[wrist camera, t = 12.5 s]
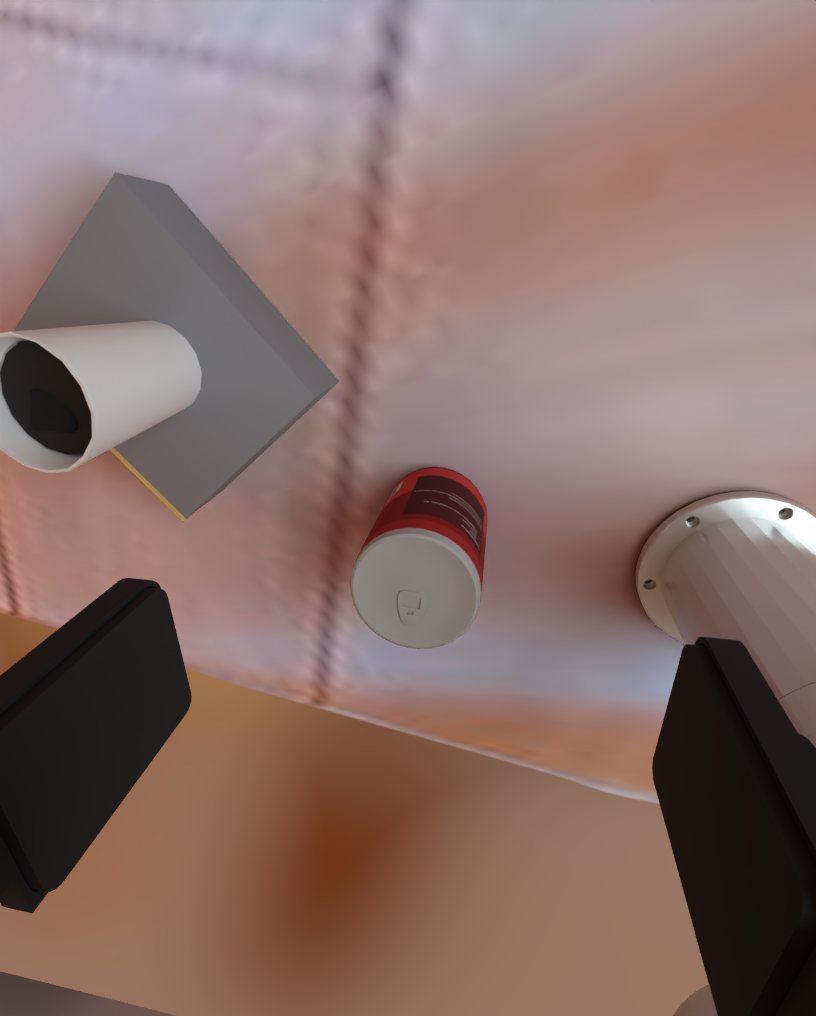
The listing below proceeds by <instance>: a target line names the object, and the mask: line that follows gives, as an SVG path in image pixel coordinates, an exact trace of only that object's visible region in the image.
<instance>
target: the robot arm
mask: <svg viewBox="0 0 816 1016" xmlns="http://www.w3.org/2000/svg"><path fill="white" fill-rule="evenodd" d="M781 509H782V510H781ZM689 517H692V518H690V519H688V518H689ZM635 578H636V589H637V592H638V595H639V598H640V601H641V603H642V605H643V607H644V609H645V612H646V614H647V615H648V616H649V617H650V619H651V620H652V621H653V622H654V624H655V625H656V626H657V627H659V628H660V629H661V630H662V631H664V632H665V633H666V634H667V635H669V636H671V637H673V638H675V639H677V640H679V641H680V642H683V643H684V644H685V646H684V648H683V650H682V654H681V657H680V661H679V665H678V668H677V672H676V676H675V680H674V683H673V687H672V691H671V694H670V698H669V702H668V706H667V709H666V713H665V717H664V720H663V724H662V728H661V731H660V735H659V739H658V743H657V746H656V750H655V754H654V757H653V766H652V769H653V780H654V784H655V788H656V792H657V795H658V799H659V803H660V806H661V810H662V813H663V817H664V821H665V824H666V828H667V832H668V836H669V839H670V843H671V846H672V850H673V854H674V858H675V861H676V865H677V869H678V872H679V876H680V880H681V883H682V887H683V890H684V894H685V898H686V901H687V905H688V908H689V912H690V916H691V919H692V924H693V927H694V930H695V934H696V938H697V942H698V945H699V949H700V953H701V956H702V960H703V964H704V967H705V971H706V975H707V978H708V982H709V985H707V986H704V987H702V988H700V989H699V990H697V991H696V992H694V993H693V994H692V995H690V996H689V997H688V998H687V999H686V1000H685V1001H684V1002H683V1003H682V1004H681V1005H680V1006H679V1008H678V1009H677V1011H676V1012H675V1014H674V1015H673V1016H816V516H815V515H814V514H813V513H812V512H811V511H809V510H808V509H807V508H805V507H803V506H802V505H800V504H798V503H796V502H795V501H793V500H791V499H788V498H785V497H782V496H779V495H776V494H771V493H764V492H757V491H736V492H729V493H723V494H718V495H713V496H710V497H707V498H704V499H701V500H698V501H695V502H693V503H692V504H690V505H688V506H686V507H684V508H682V509H680V510H678V511H677V512H675V513H674V514H673V515H671V516H670V517H669V518H667V519H666V520H665V521H663V522H662V523H661V525H660V526H659V527H658V528H657V529H656V530H655V531H654V532H653V533H652V534H651V536H650V537H649V539H648V540H647V542H646V543H645V545H644V546H643V548H642V551H641V553H640V556H639V558H638V561H637V567H636V574H635ZM190 703H191V691H190V687H189V682H188V678H187V674H186V670H185V666H184V662H183V658H182V654H181V650H180V645H179V641H178V637H177V633H176V629H175V625H174V621H173V617H172V613H171V608H170V604H169V600H168V596H167V594H166V592H165V591H164V590H162V589H161V588H160V585H159V584H158V583H157V582H155V581H152V580H142V579H132V578H125V579H122V580H120V581H118V582H117V583H116V584H114V585H113V586H112V587H111V588H109V589H108V590H107V591H106V592H104V593H103V594H102V595H101V596H99V597H98V598H97V599H96V600H94V601H93V602H92V603H91V604H89V605H88V606H87V607H86V608H84V609H83V610H82V611H81V612H79V613H78V614H77V615H76V616H74V617H73V618H72V619H71V620H69V621H68V622H67V623H66V624H64V625H63V626H62V627H61V628H59V629H58V630H57V631H56V632H55V633H53V634H52V635H51V636H49V637H48V638H47V639H46V640H44V641H43V642H42V643H41V644H39V645H38V646H37V647H36V648H35V649H33V650H32V651H31V652H29V653H28V654H27V655H26V656H24V657H23V658H22V659H21V660H19V661H18V662H17V663H16V664H14V665H13V666H12V667H11V668H9V669H8V670H7V671H6V672H4V673H3V674H2V675H1V676H0V903H1V905H2V906H3V907H7V908H11V909H16V910H21V911H25V912H29V913H33V912H34V911H35V909H36V908H37V907H38V905H39V904H40V902H41V901H42V900H43V899H44V897H45V896H46V894H47V893H48V892H50V891H53V890H55V889H56V888H57V887H58V886H60V885H61V884H62V882H63V881H64V880H65V879H66V877H67V876H68V874H69V873H70V872H71V871H72V869H73V868H74V867H75V865H76V864H77V862H78V861H79V860H80V858H81V857H82V856H83V854H84V853H85V851H86V850H87V849H88V847H89V846H90V845H91V843H92V842H93V841H94V839H95V838H96V836H97V835H98V834H99V832H100V831H101V829H102V828H103V827H104V825H105V824H106V823H107V821H108V820H109V819H110V817H111V816H112V814H113V813H114V812H115V810H116V809H117V808H118V806H119V805H120V804H121V802H122V801H123V799H124V798H125V797H126V795H127V794H128V793H129V791H130V790H131V789H132V787H133V786H134V784H135V783H136V782H137V780H138V779H139V778H140V776H141V775H142V773H143V772H144V771H145V769H146V768H147V767H148V765H149V764H150V763H151V761H152V760H153V758H154V757H155V756H156V754H157V753H158V752H159V750H160V749H161V747H162V746H163V745H164V743H165V742H166V741H167V739H168V738H169V737H170V735H171V734H172V732H173V731H174V730H175V728H176V727H177V726H178V724H179V723H180V721H181V720H182V719H183V717H184V716H185V714H186V713H187V711H188V709H189V707H190ZM0 1016H176V1015H171V1014H168V1013H164V1012H159V1011H156V1010H152V1009H148V1008H144V1007H140V1006H136V1005H132V1004H128V1003H124V1002H121V1001H117V1000H112V999H109V998H105V997H101V996H96V995H93V994H88V993H84V992H81V991H76V990H73V989H68V988H64V987H60V986H56V985H52V984H48V983H44V982H40V981H36V980H32V979H28V978H24V977H20V976H16V975H12V974H8V973H4V972H0Z"/></svg>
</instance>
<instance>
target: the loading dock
mask: <svg viewBox="0 0 816 1016" xmlns="http://www.w3.org/2000/svg"><path fill="white" fill-rule="evenodd" d="M151 320H153V321H156V322H160V323H163V324H166V325H169V326H171V327H172V328H173V329H175V330H176V331H177V332H179V333H180V334H181V335H182V336H184V337H185V338H186V340H187V341H188V343H189V344H190V346H191V347H192V348H193V350H194V351H195V353H196V355H197V358H198V362H199V365H200V368H201V372H202V375H201V389H200V391H199V393H198V395H197V397H196V399H195V401H194V403H193V404H191V405H190V406H188V407H187V408H185V409H184V410H182V411H180V412H178V413H177V414H175V415H173V416H171V417H169V418H167V419H165V420H164V421H162V422H160V423H158V424H156V425H154V426H153V427H151V428H149V429H147V430H145V431H143V432H141V433H140V434H138V435H136V436H134V437H132V438H130V439H128V440H127V441H125V442H123V443H121V444H119V445H117V446H116V447H114V448H112V449H110V451H111V452H112V453H113V454H114V455H115V456H116V457H117V458H118V459H119V460H120V461H121V462H122V463H123V464H124V465H125V466H126V467H127V468H128V469H129V470H130V471H131V472H133V473H134V474H135V475H136V476H137V477H138V478H139V479H140V480H141V481H142V482H143V483H144V484H145V485H146V486H147V487H148V488H149V489H150V490H151V491H152V492H153V493H154V494H155V495H156V496H157V497H158V498H159V499H160V500H161V501H162V502H163V503H164V504H165V505H166V506H167V507H168V508H169V509H171V510H172V511H173V512H174V513H175V514H176V515H177V516H178V517H179V518H180V519H181V520H182V521H183V522H184V521H185V520H186V519H188V518H189V517H190V516H191V515H193V514H194V513H195V512H196V511H197V510H198V509H199V508H201V507H202V506H203V505H204V504H206V503H207V502H208V501H210V500H211V499H212V498H213V497H215V496H216V495H217V494H218V493H220V492H221V491H222V490H223V489H224V488H225V487H226V486H227V485H228V484H230V483H231V482H232V481H233V480H234V479H235V478H236V477H237V476H238V475H239V474H240V473H241V472H242V471H243V470H245V469H246V468H247V467H248V466H249V465H250V464H251V463H252V462H253V461H254V460H255V459H256V458H257V457H258V456H260V455H261V454H262V453H263V452H264V451H265V450H266V449H267V448H268V447H269V446H270V445H271V444H272V443H273V442H275V441H276V440H277V439H278V438H279V437H280V436H281V435H282V434H283V433H284V432H285V431H286V430H287V429H289V428H290V427H291V426H292V425H293V424H294V423H295V422H296V421H297V420H298V419H299V418H300V417H301V416H302V415H304V414H305V413H306V412H307V411H308V410H309V409H310V408H311V407H312V406H313V405H314V404H315V403H316V402H317V401H319V400H320V399H321V398H322V397H323V396H324V395H325V394H326V393H327V392H328V391H329V390H330V389H331V388H332V387H334V386H335V385H336V384H337V383H338V382H339V380H338V379H337V378H336V377H335V376H334V375H333V374H332V372H331V371H330V370H329V369H328V368H327V367H326V365H325V364H324V363H323V362H322V361H321V360H320V359H319V357H318V356H317V355H316V354H315V353H314V352H313V351H312V349H311V348H310V347H309V346H308V345H307V344H306V342H305V341H304V340H303V339H302V338H301V337H300V336H299V334H298V333H297V332H296V331H295V330H294V329H293V327H292V326H291V325H290V324H289V323H288V322H287V321H286V319H285V318H284V317H283V316H282V315H281V314H280V313H279V311H278V310H277V309H276V308H275V307H274V306H273V304H272V303H271V302H270V301H269V300H268V299H267V298H266V296H265V295H264V294H263V293H262V292H261V291H260V290H259V288H258V287H257V286H256V285H255V284H254V283H253V281H252V280H251V279H250V278H249V277H248V276H247V275H246V273H245V272H244V271H243V270H242V269H241V268H240V266H239V265H238V264H237V263H236V262H235V261H234V260H233V258H232V257H231V256H230V255H229V254H228V253H227V252H226V250H225V249H224V248H223V247H222V246H221V245H220V243H219V242H218V241H217V240H216V239H215V238H214V237H213V235H212V234H211V233H210V232H209V231H208V230H207V229H206V227H205V226H204V225H203V224H202V223H201V222H200V220H199V219H198V218H197V217H196V216H195V215H194V214H193V212H192V211H191V210H190V209H189V208H188V207H187V205H186V204H185V203H184V202H183V201H182V200H181V199H180V197H179V196H178V195H177V194H176V193H175V192H174V191H173V189H172V188H171V187H170V186H169V185H167V184H162V183H158V182H154V181H150V180H145V179H141V178H137V177H132V176H128V175H124V174H119V173H115V174H114V176H113V177H112V179H111V180H110V182H109V183H108V185H107V186H106V188H105V190H104V191H103V193H102V194H101V196H100V197H99V199H98V200H97V202H96V204H95V205H94V207H93V208H92V210H91V211H90V213H89V215H88V216H87V218H86V219H85V221H84V222H83V224H82V225H81V227H80V229H79V230H78V232H77V233H76V235H75V236H74V238H73V239H72V241H71V243H70V244H69V246H68V247H67V249H66V250H65V252H64V253H63V255H62V257H61V258H60V260H59V261H58V263H57V264H56V266H55V267H54V269H53V271H52V272H51V274H50V275H49V277H48V278H47V280H46V282H45V283H44V285H43V286H42V288H41V289H40V291H39V292H38V294H37V296H36V297H35V299H34V300H33V302H32V303H31V305H30V306H29V308H28V310H27V311H26V313H25V314H24V316H23V317H22V319H21V320H20V322H19V324H18V325H17V327H16V328H15V330H14V331H25V330H38V329H50V328H63V327H75V326H88V325H101V324H113V323H126V322H138V321H151Z"/></svg>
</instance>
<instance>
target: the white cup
mask: <svg viewBox="0 0 816 1016" xmlns="http://www.w3.org/2000/svg"><path fill="white" fill-rule="evenodd" d="M201 375H202V372H201V368H200V365H199V362H198V358H197V355H196V353H195V351H194V350H193V348H192V347H191V346H190V344H189V343H188V341H187V340H186V338H185V337H184V336H182V335H181V334H180V333H179V332H177V331H176V330H175V329H173V328H172V327H171V326H169V325H166V324H163V323H160V322H156V321H153V320H151V321H138V322H126V323H113V324H101V325H88V326H75V327H63V328H50V329H38V330H25V331H12V332H5V333H0V450H2V451H3V452H5V453H6V454H7V455H9V456H10V457H12V458H13V459H15V460H16V461H17V462H19V463H20V464H22V465H23V466H26V467H29V468H33V469H36V470H39V471H42V472H45V473H57V472H69V471H71V470H73V469H75V468H77V467H78V466H80V465H82V464H84V463H86V462H88V461H90V460H91V459H93V458H95V457H97V456H99V455H101V454H103V453H104V452H106V451H108V450H110V449H112V448H114V447H116V446H117V445H119V444H121V443H123V442H125V441H127V440H128V439H130V438H132V437H134V436H136V435H138V434H140V433H141V432H143V431H145V430H147V429H149V428H151V427H153V426H154V425H156V424H158V423H160V422H162V421H164V420H165V419H167V418H169V417H171V416H173V415H175V414H177V413H178V412H180V411H182V410H184V409H185V408H187V407H188V406H190V405H191V404H193V403H194V401H195V399H196V397H197V395H198V393H199V391H200V389H201Z"/></svg>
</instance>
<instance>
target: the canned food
mask: <svg viewBox="0 0 816 1016" xmlns="http://www.w3.org/2000/svg"><path fill="white" fill-rule="evenodd" d="M486 530H487V510H486V505H485V503H484V500H483V497H482V496H481V494H480V493H479V491H478V489H477V488H476V487H475V486H474V485H473V483H472V482H471V481H470V480H469V479H467V478H466V477H465V476H463V475H462V474H460V473H458V472H456V471H453V470H450V469H446V468H438V467H432V468H425V469H422V470H419V471H416V472H413V473H411V474H410V475H408V476H406V477H405V478H403V479H402V480H401V481H400V482H399V483H398V484H397V485H396V487H395V488H394V489H393V491H392V492H391V494H390V496H389V498H388V500H387V502H386V504H385V505H384V507H383V509H382V511H381V513H380V515H379V517H378V519H377V520H376V522H375V524H374V526H373V528H372V530H371V532H370V534H369V535H368V537H367V539H366V541H365V543H364V545H363V547H362V549H361V551H360V553H359V555H358V557H357V560H356V562H355V564H354V568H353V571H352V576H351V582H350V585H351V596H352V599H353V603H354V606H355V608H356V610H357V612H358V614H359V616H360V617H361V618H362V620H363V621H364V622H365V624H366V625H367V626H368V627H369V628H370V629H372V630H373V631H374V632H375V633H376V634H378V635H379V636H381V637H382V638H384V639H385V640H388V641H390V642H392V643H394V644H397V645H400V646H404V647H408V648H417V649H425V648H434V647H438V646H443V645H445V644H447V643H449V642H452V641H454V640H455V639H457V638H458V637H459V636H461V635H462V634H463V633H464V632H465V631H466V630H467V629H468V628H469V627H470V625H471V624H472V622H473V620H474V618H475V617H476V614H477V610H478V607H479V604H480V599H481V591H482V580H483V568H484V555H485V543H486Z"/></svg>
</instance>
